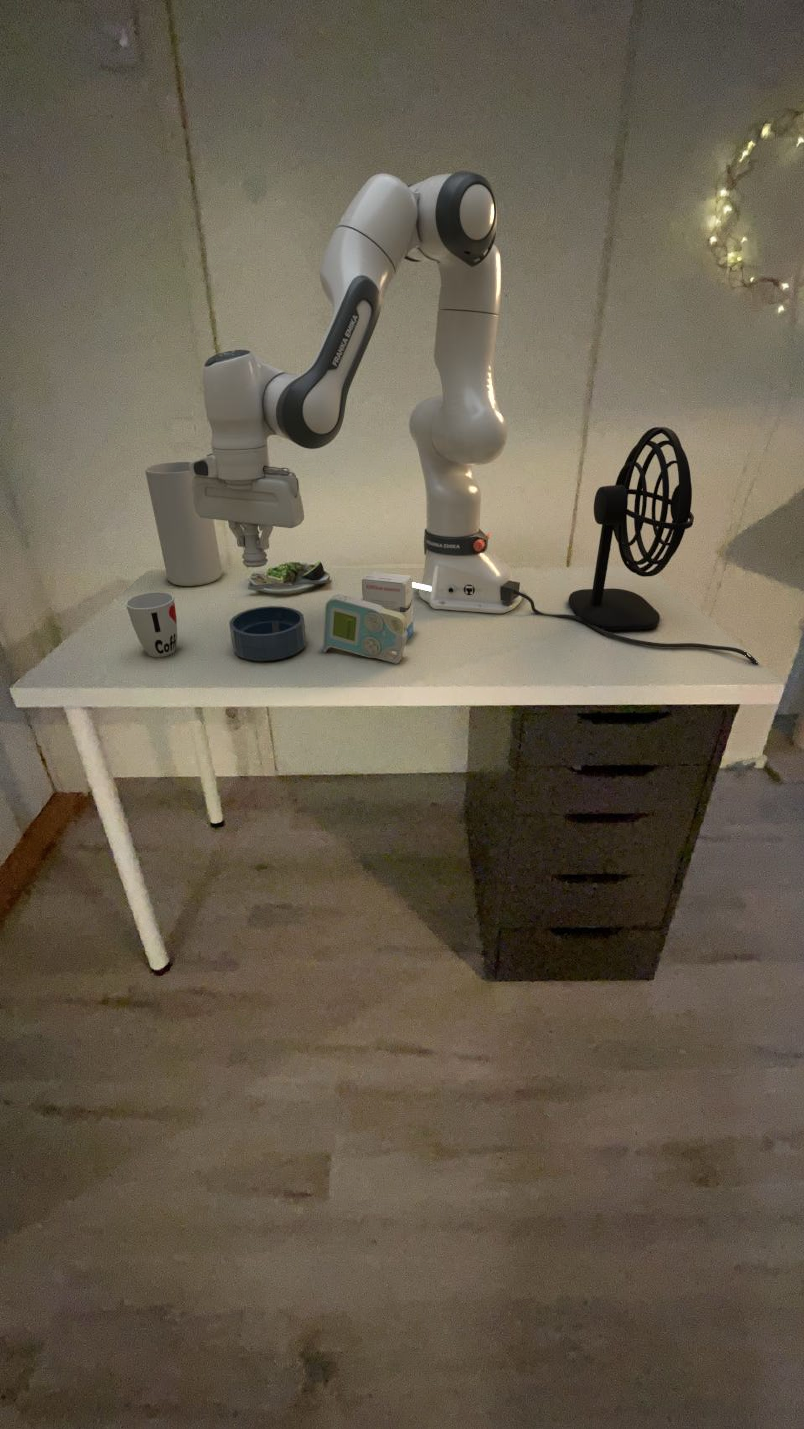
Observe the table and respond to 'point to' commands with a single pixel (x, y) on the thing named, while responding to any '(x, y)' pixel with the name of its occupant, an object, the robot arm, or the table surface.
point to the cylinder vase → (182, 527)
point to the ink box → (390, 594)
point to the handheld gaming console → (364, 628)
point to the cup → (154, 622)
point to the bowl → (268, 633)
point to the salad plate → (289, 578)
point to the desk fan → (636, 536)
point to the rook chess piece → (252, 547)
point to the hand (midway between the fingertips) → (253, 547)
